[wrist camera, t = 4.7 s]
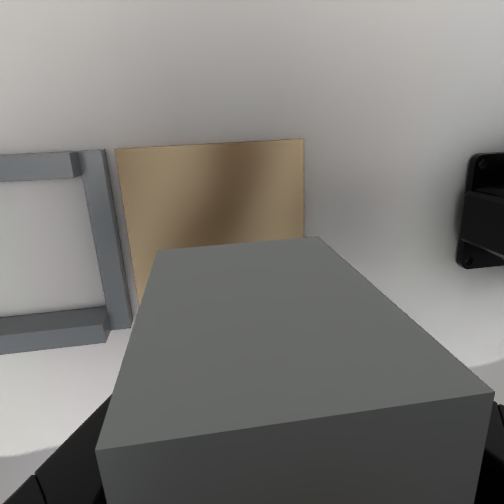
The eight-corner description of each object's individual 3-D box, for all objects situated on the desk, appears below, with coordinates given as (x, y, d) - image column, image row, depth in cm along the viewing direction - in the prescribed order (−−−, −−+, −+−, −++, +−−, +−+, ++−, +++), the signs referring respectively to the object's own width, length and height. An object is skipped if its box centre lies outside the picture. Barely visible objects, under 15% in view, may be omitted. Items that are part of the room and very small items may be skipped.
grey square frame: (104, 149, 18) (94, 151, 16) (132, 320, 20) (126, 340, 19) (-84, 159, 17) (-119, 163, 15) (-27, 338, 19) (-50, 360, 18)
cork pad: (302, 138, 19) (303, 138, 19) (302, 302, 22) (303, 304, 21) (115, 148, 18) (114, 149, 17) (142, 319, 21) (141, 322, 20)
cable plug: (317, 236, 10) (591, 475, 3) (316, 399, 11) (491, 788, 5) (157, 250, 9) (58, 571, 2) (179, 418, 11) (153, 885, 4)
